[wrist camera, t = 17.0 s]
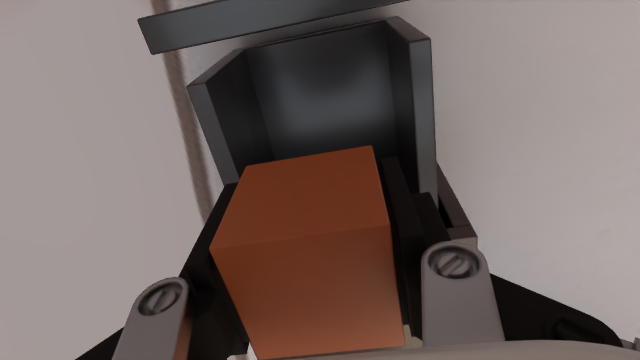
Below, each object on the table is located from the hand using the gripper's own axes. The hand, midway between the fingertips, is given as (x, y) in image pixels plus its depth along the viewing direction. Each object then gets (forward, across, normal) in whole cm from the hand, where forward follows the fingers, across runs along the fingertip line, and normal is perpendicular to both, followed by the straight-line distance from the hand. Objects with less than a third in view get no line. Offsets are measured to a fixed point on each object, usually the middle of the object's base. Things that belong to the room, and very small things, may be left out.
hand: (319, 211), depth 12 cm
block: (0, 0, 0) cm, 0 cm away
